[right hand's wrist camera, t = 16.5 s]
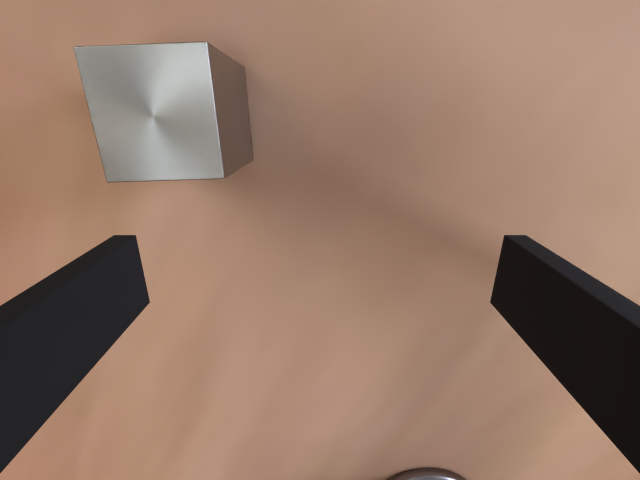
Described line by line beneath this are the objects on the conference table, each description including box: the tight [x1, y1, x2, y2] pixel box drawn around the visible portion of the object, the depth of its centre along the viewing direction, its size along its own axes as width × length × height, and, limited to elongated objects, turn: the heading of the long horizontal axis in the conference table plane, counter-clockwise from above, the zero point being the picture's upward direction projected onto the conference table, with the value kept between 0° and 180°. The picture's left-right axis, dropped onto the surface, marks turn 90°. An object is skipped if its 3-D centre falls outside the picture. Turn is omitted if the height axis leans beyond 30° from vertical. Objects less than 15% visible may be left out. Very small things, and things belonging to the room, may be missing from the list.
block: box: [74, 42, 253, 182], centre depth 27 cm, size 8×8×11 cm
